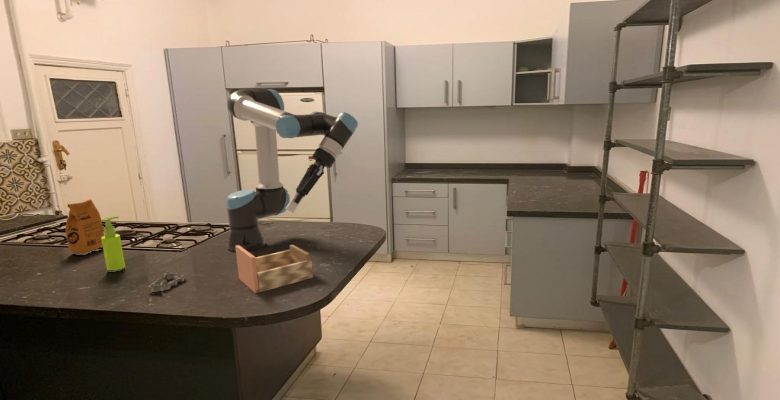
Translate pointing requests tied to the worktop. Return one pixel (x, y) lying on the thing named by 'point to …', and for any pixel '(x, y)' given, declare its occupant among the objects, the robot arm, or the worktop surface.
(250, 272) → the panel
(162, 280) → the egg carton
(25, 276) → the worktop surface
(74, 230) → the coffee package
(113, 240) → the soap dispenser
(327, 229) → the worktop surface
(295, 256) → the wooden open box
